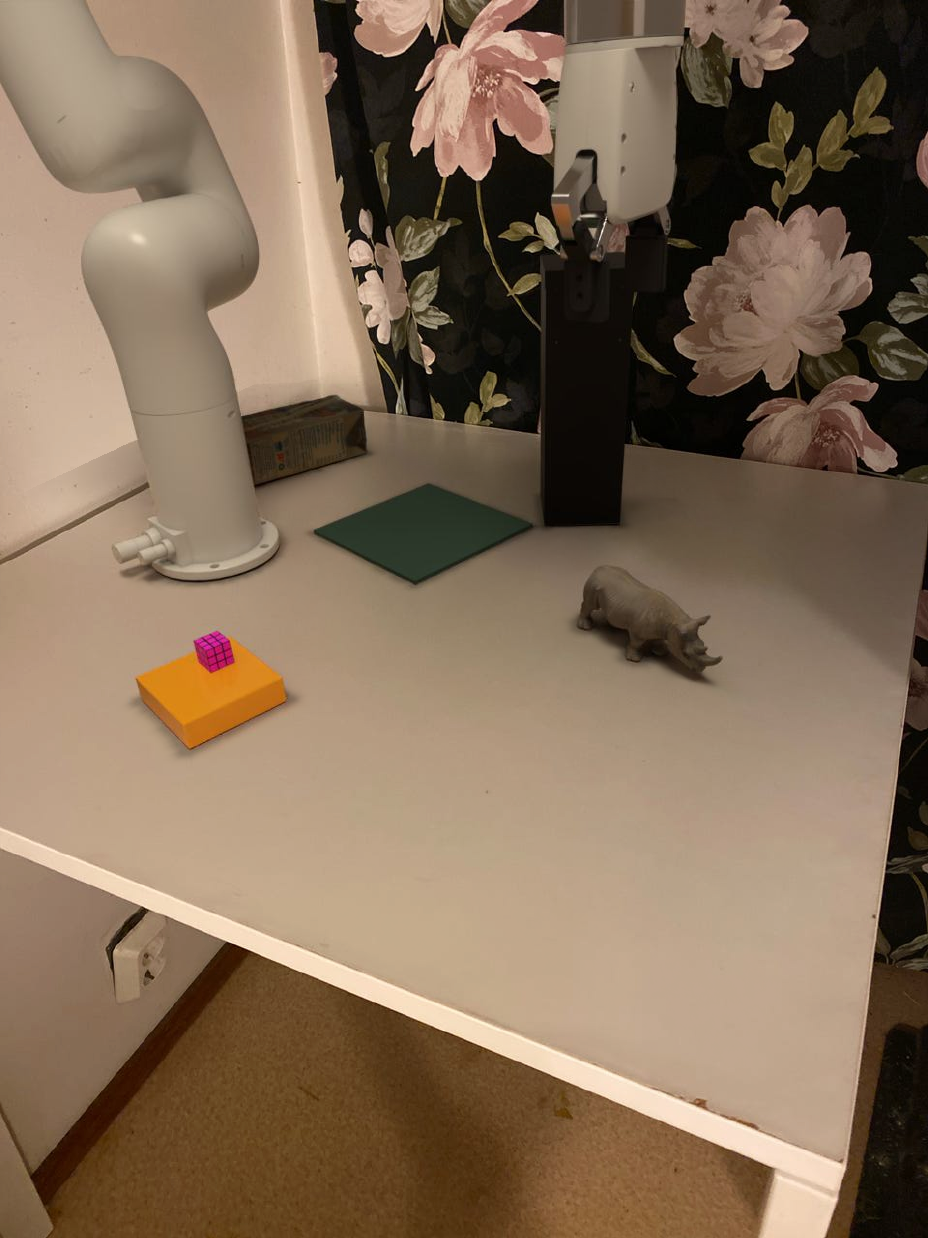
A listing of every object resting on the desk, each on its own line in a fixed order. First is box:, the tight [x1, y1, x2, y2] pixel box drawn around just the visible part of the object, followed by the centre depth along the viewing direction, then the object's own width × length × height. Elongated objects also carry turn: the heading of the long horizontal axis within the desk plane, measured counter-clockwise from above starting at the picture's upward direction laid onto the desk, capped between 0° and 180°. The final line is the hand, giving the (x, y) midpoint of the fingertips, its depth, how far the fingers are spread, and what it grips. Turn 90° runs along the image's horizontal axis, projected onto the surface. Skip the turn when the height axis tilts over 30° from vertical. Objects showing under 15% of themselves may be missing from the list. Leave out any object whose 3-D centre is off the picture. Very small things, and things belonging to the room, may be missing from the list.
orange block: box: [135, 630, 287, 750], centre depth 64 cm, size 8×8×4 cm
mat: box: [313, 482, 534, 585], centre depth 89 cm, size 16×16×1 cm
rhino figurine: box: [576, 564, 724, 674], centre depth 67 cm, size 4×14×6 cm, turn 37°
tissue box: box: [539, 228, 635, 527], centre depth 84 cm, size 8×8×28 cm
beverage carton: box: [241, 394, 368, 486], centre depth 104 cm, size 8×19×7 cm, turn 127°
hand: (616, 305), depth 64 cm, fingers open, 9 cm apart
